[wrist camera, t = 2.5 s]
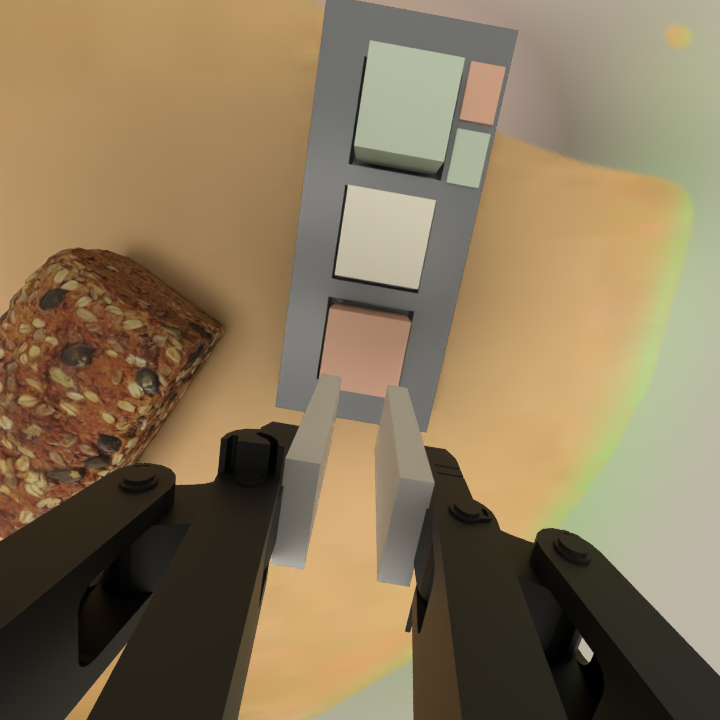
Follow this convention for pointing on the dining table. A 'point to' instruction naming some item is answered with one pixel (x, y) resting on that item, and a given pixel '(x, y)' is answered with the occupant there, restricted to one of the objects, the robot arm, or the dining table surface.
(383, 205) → the key cream
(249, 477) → the robot arm
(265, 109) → the dining table surface
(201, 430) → the dining table surface
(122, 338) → the bread
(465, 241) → the keypad board
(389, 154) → the key sage
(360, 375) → the key terracotta
